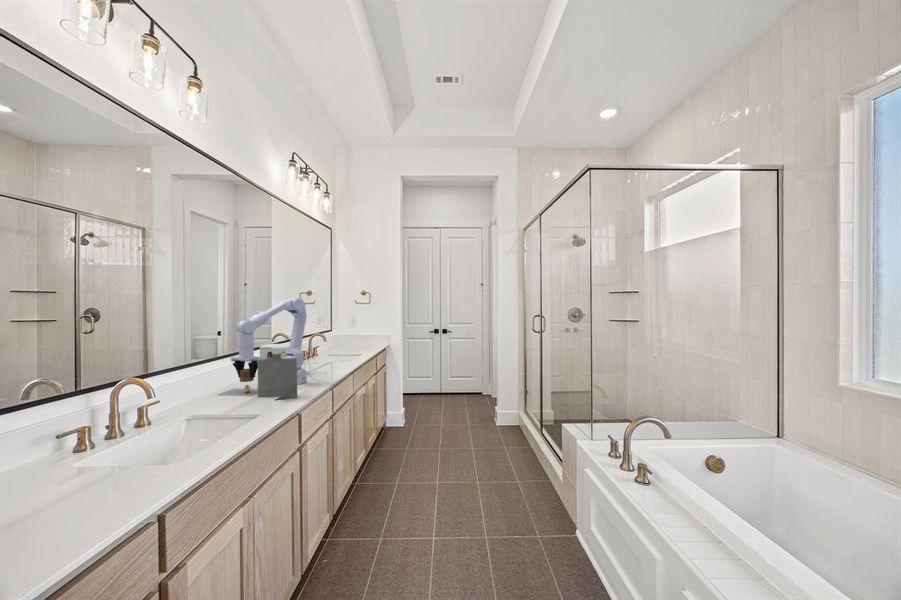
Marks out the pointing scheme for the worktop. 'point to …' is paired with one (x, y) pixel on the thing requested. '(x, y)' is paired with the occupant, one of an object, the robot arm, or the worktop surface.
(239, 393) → the board
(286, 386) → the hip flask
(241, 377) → the cap
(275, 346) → the supplement box
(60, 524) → the worktop surface
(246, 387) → the post
